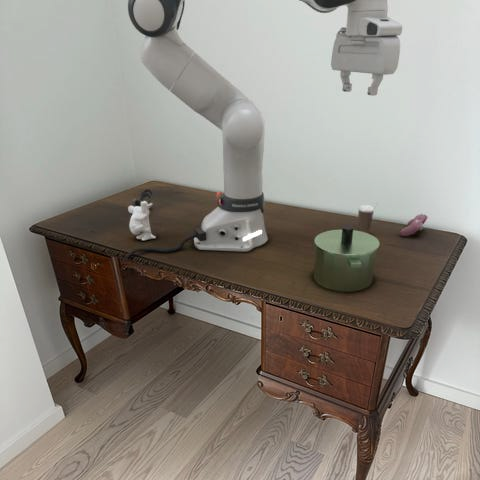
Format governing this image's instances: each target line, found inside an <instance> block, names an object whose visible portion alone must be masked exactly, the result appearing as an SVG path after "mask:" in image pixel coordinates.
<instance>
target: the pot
mask: <svg viewBox="0 0 480 480" xmlns="http://www.w3.org/2000/svg"><path fill="white" fill-rule="evenodd" d="M314 249H315V250H314V265H313V278H314V281H315V282H316V283H317V285H319V286H321V287H323V288H324V289H326V290H330V291H335V292H340V293H341V292H342V293H351V292H359V291H362V290H365V289H367V288H369V287H370V286H371V285H372V283H373V280H374V274H375V273H374V272H375V267H376V258H377V253H378V252H377V251H378V250H377V251H375V252H374V253H371V254H369V255H365V256H358V257H344V256H336V255H332V254H328V253H325V252H323V251H321V250H319V249H318V248H317V247H316V246H315V248H314Z"/></svg>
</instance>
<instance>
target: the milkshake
mask: <svg viewBox="0 0 480 480" xmlns="http://www.w3.org/2000/svg"><path fill="white" fill-rule="evenodd" d="M377 206H378V202H377V203H376V205H375V207H373V205H370V204H362V205H360V206H359V207H358V213H357V214H358V215H357V218H358V220H357V231H361V232H365V233H368V234H370V231H371V226H372V222H373V221H372V220H373V216H374V212H375V209H376V207H377Z"/></svg>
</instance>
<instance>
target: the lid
mask: <svg viewBox="0 0 480 480" xmlns="http://www.w3.org/2000/svg"><path fill="white" fill-rule="evenodd" d="M313 243H314V246H315V247H317V248H318V249H319V250H321V251H323V252H325V253H328V254H332V255H336V256H344V257H358V256H365V255H369V254H371V253H374V252H375V251H378V250H379V248H380V241H379V239H378V238H377V237H376V236H374V235H373V234H370V233H369V234H368V233H365V232H361V231H358V230H356V229H354V227H353V226H351V225H344V226H342V227H341V229H331V230H326V231H324V232H321V233H319V234H317V235H316V236H315V237H314V241H313Z"/></svg>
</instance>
